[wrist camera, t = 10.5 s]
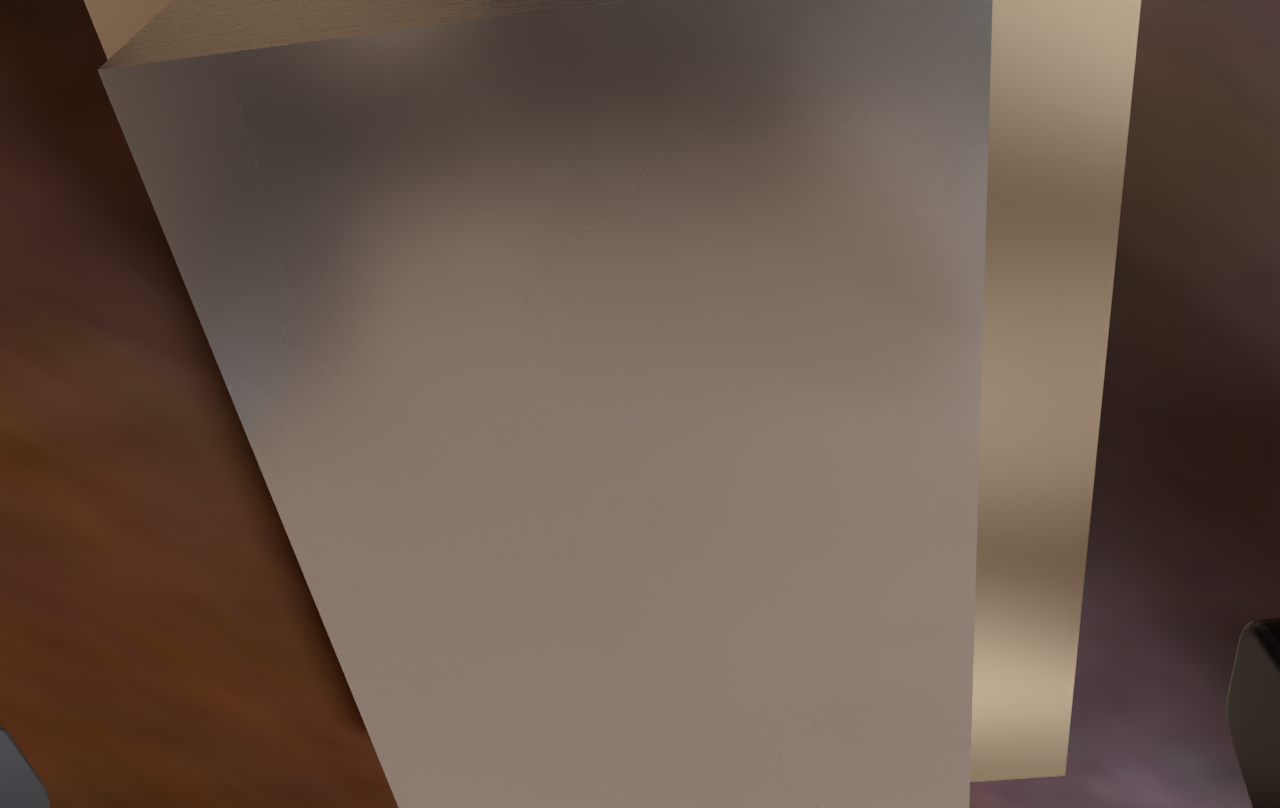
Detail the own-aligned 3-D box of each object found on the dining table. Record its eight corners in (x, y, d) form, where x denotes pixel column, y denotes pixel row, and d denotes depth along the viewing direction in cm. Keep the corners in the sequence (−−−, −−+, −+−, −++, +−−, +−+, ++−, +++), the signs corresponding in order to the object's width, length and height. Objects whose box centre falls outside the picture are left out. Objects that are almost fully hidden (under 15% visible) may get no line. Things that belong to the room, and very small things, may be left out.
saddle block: (887, 465, 18) (969, 818, 13) (486, 503, 18) (417, 854, 13) (869, -212, 13) (993, -50, 8) (310, -129, 13) (95, 69, 8)
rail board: (1044, 709, 23) (1096, 876, 20) (426, 755, 24) (393, 918, 21) (1209, -1393, 9) (1449, -1806, 6) (-247, -1048, 10) (-594, -1266, 8)
